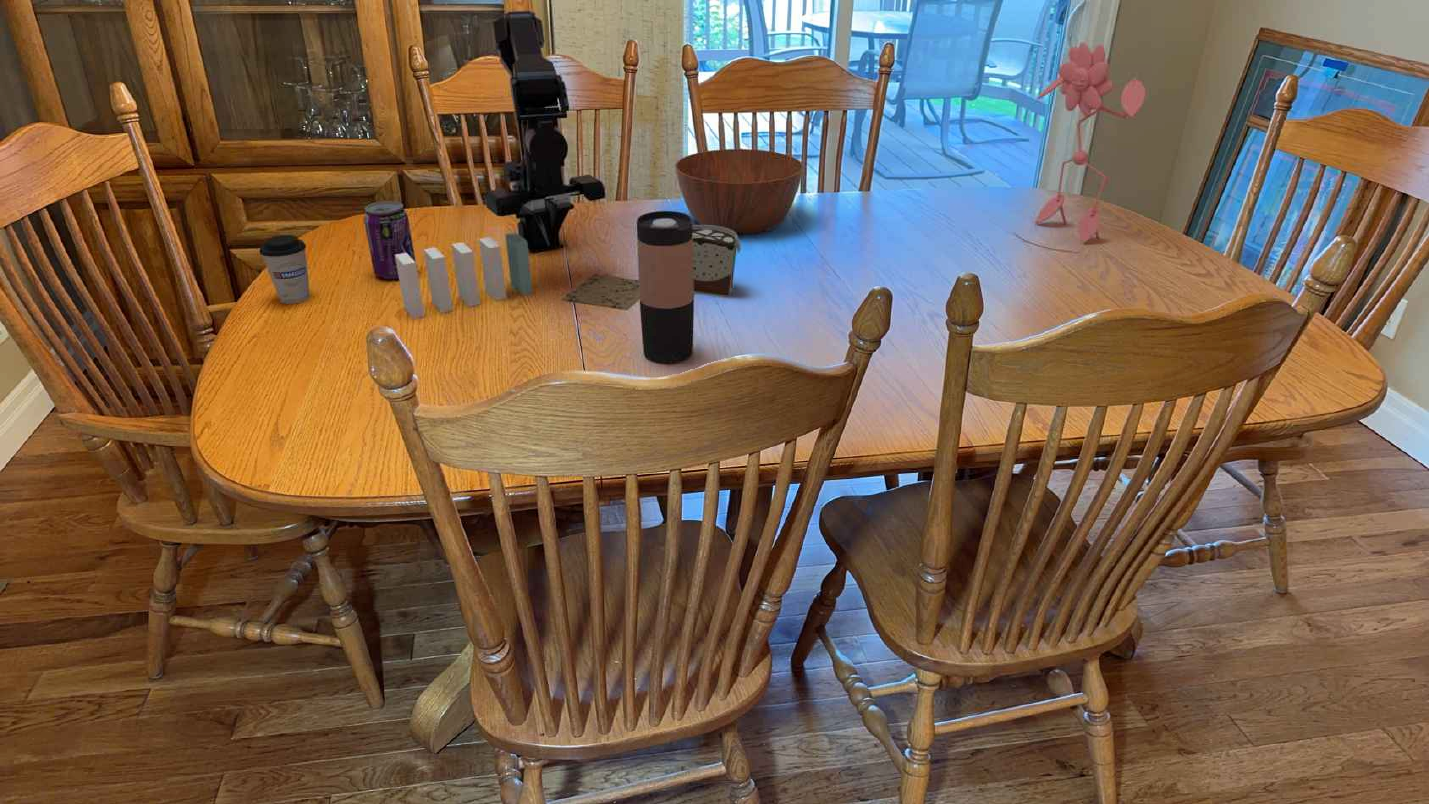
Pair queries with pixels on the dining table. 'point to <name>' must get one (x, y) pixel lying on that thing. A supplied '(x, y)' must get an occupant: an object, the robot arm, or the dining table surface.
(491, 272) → the domino
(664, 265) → the travel mug
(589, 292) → the speckled square tile
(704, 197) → the bowl
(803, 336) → the dining table surface
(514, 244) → the domino
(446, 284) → the domino
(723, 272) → the food container
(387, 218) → the beverage can
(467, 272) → the domino
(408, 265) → the domino
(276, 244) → the coffee cup
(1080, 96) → the figurine
